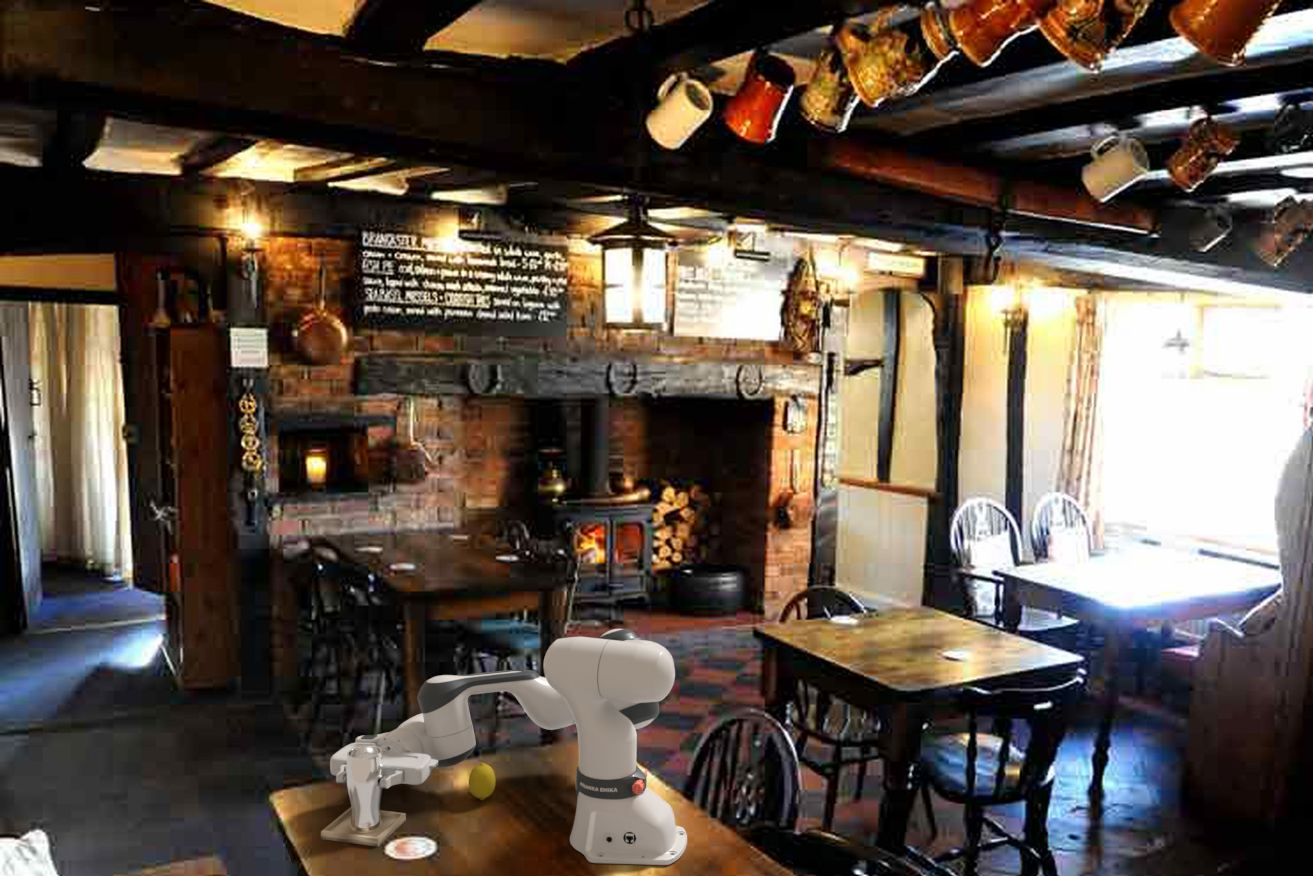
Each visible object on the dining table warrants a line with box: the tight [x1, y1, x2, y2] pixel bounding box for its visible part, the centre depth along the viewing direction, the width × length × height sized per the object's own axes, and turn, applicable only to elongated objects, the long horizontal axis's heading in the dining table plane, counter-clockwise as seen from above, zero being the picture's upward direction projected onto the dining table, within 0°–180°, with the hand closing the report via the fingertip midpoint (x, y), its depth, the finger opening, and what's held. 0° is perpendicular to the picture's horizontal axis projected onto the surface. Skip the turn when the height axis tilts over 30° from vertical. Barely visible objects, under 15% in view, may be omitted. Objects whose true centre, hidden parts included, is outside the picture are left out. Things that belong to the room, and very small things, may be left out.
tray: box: [320, 806, 407, 848], centre depth 192 cm, size 12×11×2 cm
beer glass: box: [346, 745, 384, 834], centre depth 192 cm, size 7×7×15 cm
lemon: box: [468, 762, 497, 801], centre depth 206 cm, size 6×6×8 cm
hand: (361, 781), depth 191 cm, fingers open, 8 cm apart
